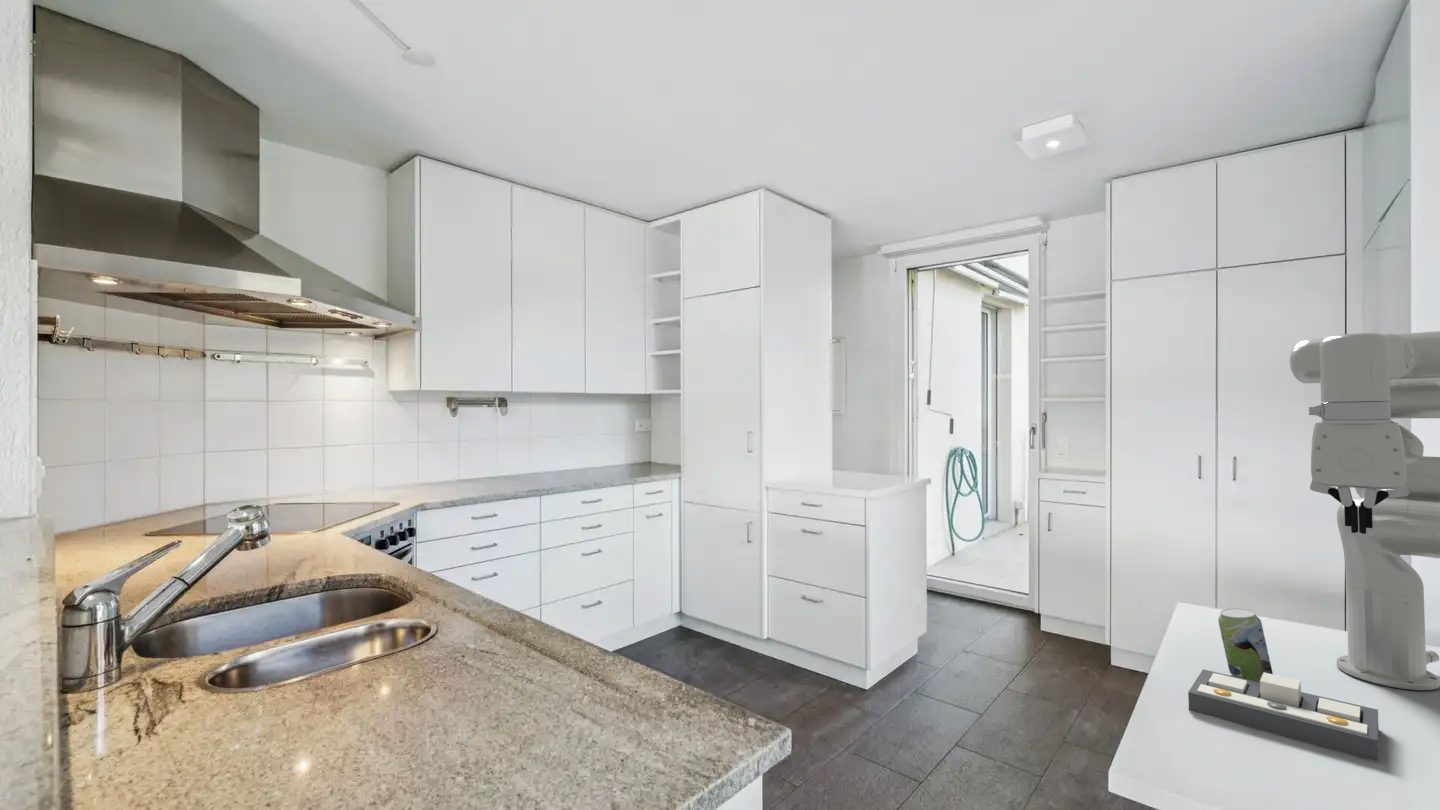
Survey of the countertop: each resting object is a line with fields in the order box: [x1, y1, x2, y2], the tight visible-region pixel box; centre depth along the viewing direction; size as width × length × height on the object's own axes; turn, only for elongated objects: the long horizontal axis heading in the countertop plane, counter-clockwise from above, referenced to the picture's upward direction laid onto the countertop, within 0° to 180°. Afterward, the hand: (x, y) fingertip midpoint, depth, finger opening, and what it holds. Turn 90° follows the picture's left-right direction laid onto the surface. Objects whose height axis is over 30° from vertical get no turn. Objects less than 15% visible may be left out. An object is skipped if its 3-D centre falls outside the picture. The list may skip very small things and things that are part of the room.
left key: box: [1208, 673, 1247, 694], centre depth 103 cm, size 4×4×3 cm
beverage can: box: [1217, 608, 1274, 682], centre depth 111 cm, size 6×7×12 cm
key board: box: [1187, 668, 1380, 763], centre depth 97 cm, size 12×21×4 cm, turn 43°
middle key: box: [1260, 672, 1302, 707], centre depth 98 cm, size 4×4×3 cm
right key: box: [1317, 698, 1361, 723], centre depth 93 cm, size 4×4×3 cm
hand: (1358, 531), depth 96 cm, fingers closed
